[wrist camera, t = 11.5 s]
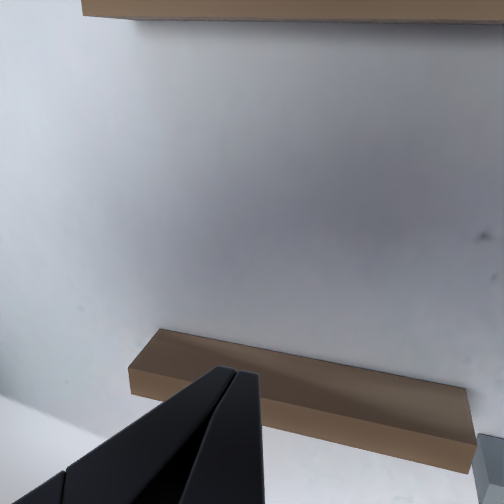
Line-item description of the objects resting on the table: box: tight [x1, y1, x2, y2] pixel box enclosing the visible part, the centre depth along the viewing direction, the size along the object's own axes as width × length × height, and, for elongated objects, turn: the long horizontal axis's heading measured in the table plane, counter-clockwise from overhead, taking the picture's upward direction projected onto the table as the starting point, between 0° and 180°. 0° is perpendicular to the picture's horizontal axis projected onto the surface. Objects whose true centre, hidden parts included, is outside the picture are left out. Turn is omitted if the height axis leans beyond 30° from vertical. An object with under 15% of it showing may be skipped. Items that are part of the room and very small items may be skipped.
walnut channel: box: [81, 0, 504, 474], centre depth 16 cm, size 16×14×3 cm
